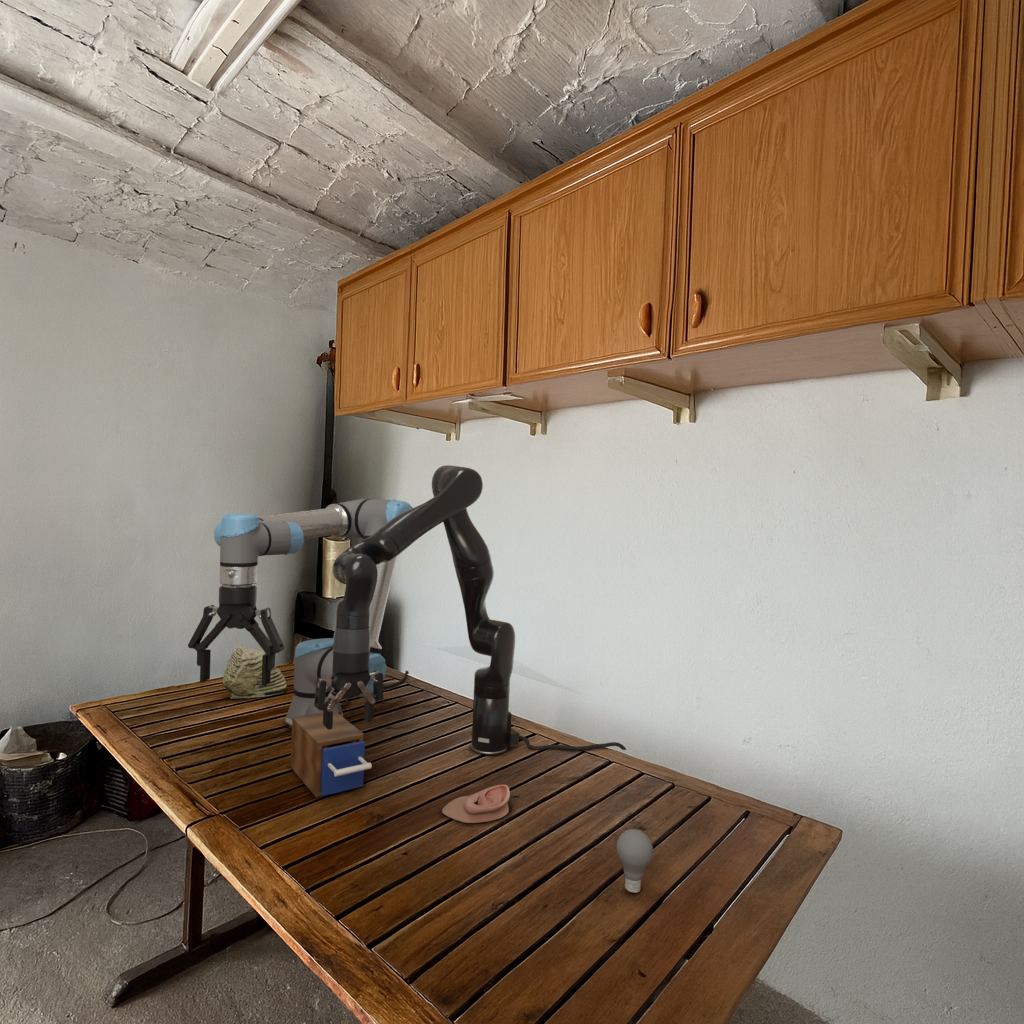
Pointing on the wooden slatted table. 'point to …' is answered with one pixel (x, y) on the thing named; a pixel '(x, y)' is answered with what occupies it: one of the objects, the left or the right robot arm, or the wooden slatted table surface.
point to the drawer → (343, 767)
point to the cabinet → (316, 745)
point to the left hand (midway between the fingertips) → (235, 682)
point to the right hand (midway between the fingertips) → (348, 724)
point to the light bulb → (634, 857)
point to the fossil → (250, 675)
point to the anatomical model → (480, 805)
